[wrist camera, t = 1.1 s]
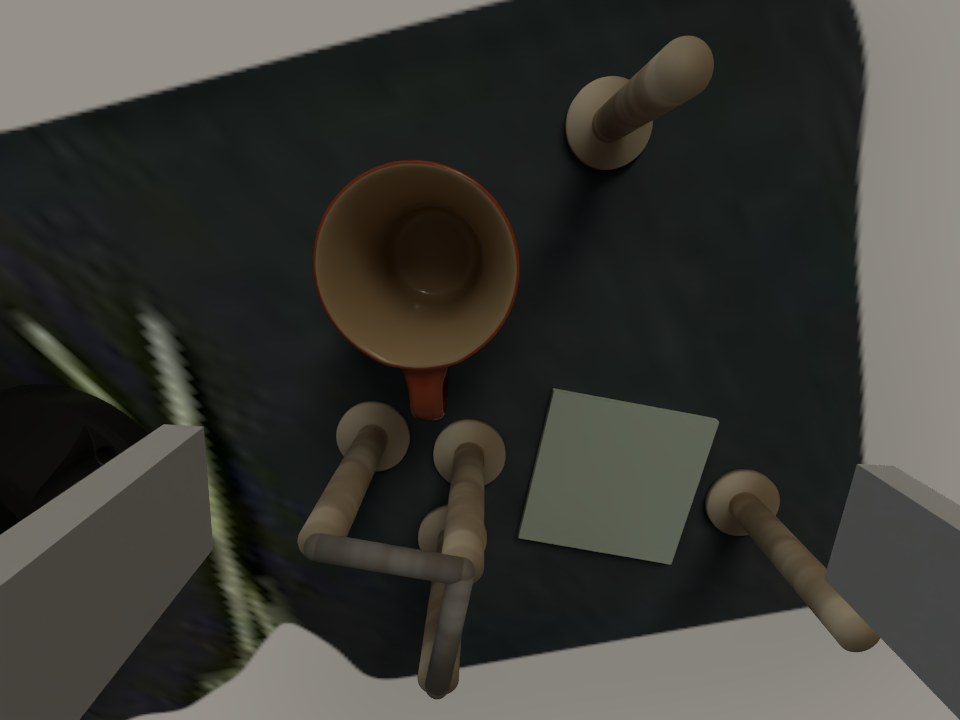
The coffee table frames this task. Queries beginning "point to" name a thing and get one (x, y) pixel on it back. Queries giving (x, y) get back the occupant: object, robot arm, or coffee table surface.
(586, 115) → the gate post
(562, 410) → the pad
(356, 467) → the light wood frame
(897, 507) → the robot arm
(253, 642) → the coffee table surface
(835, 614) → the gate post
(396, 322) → the mug
